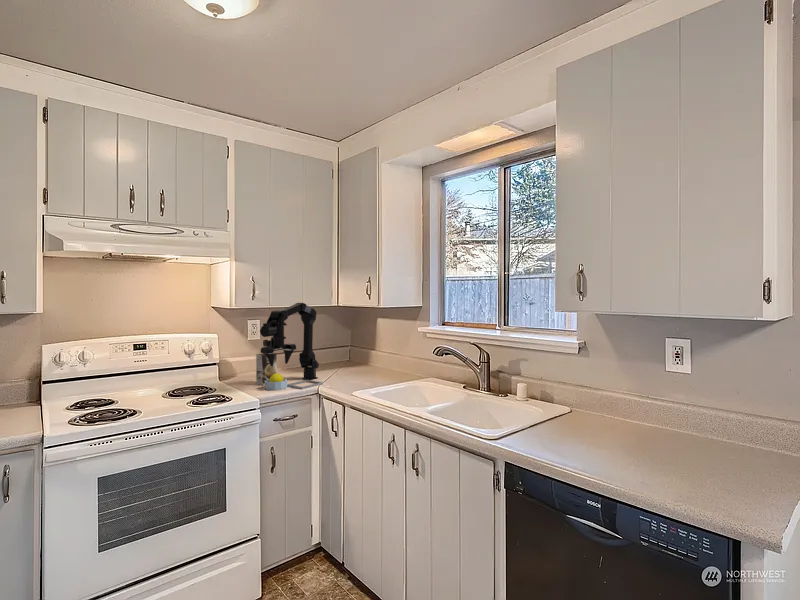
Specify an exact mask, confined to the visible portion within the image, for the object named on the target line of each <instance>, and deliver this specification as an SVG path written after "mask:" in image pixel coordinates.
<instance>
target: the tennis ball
mask: <svg viewBox="0 0 800 600" xmlns="http://www.w3.org/2000/svg"><path fill="white" fill-rule="evenodd" d="M284 379H285V378H284V376H283V375H282V374H281V373H278V372H277V373H276V374H273V375H272V376H271V377H270V382H281V381H284Z"/></svg>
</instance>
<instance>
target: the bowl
mask: <svg viewBox="0 0 800 600" xmlns="http://www.w3.org/2000/svg"><path fill="white" fill-rule="evenodd" d="M287 384H288V379H287V378H284V381H281V382H270V379H267V380H265V385H264V389H265V391H281V390H282V389H283V390H286V389H287V388H288V387H287Z"/></svg>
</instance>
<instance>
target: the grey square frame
mask: <svg viewBox="0 0 800 600" xmlns="http://www.w3.org/2000/svg"><path fill="white" fill-rule="evenodd" d="M304 383H311V384H309V385H305V386H300V385H299V384H304ZM298 385H299V386H298ZM321 385H324V382H323V381H317V380H313V379H312V380H307V379H303V380H300V381H295V382H290V383H287V388H293V389H298V390H304V389H309V388H313V387H317V386H321Z"/></svg>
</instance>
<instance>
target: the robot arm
mask: <svg viewBox="0 0 800 600" xmlns="http://www.w3.org/2000/svg"><path fill="white" fill-rule="evenodd" d="M297 313H298V315H299V316H300V321H301V322H302V324H303V341H302V342H303V348H302V349H303V350H302V351H301V352H300V353H299V354H298V355H299V358H298V360H299V364H300V367H301V369H303V377H302V380H312V381H313V380H315V379H319V377H318V376H317V369H319V367H320V366H319V365H320V363H319V362H318V361H317V359H316V354H315V352H314V350H313V341H314V340H313V335H314V334H313V332H314V328H313V327H314V323H315V322H316V320H317V310H315V308H313V307H312V306H309V305H307V304H306V303H304V302H296V303H295V304H294V303H293V304H292V305H290V306H287V307H286V308H285V307H284V309H275V310H271V311H270V314H269V316H268V318H267V320H266V322H264V323H263V324H262V326H261V328H260V330H259V333H260V335H261V337H263V338H268V337H270V340H268V339H264V340H263V341H262V347H261V348H260V354H265V355H266V356H267V358H268V360H269V363H270V365H271V366H273V363H274V353H275V352H276V351H282V350H283V353H284V364H285V365H288V363H289V360H290V358H291V356H292V354H293V353H294V352H295V350H297V345H296V343H285V340H286V339H287V336H285V326H287V325H288V324H287V323H286V322H285V321H286V320H288V319H289V317H290V316H292V315H294V314H297Z"/></svg>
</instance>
